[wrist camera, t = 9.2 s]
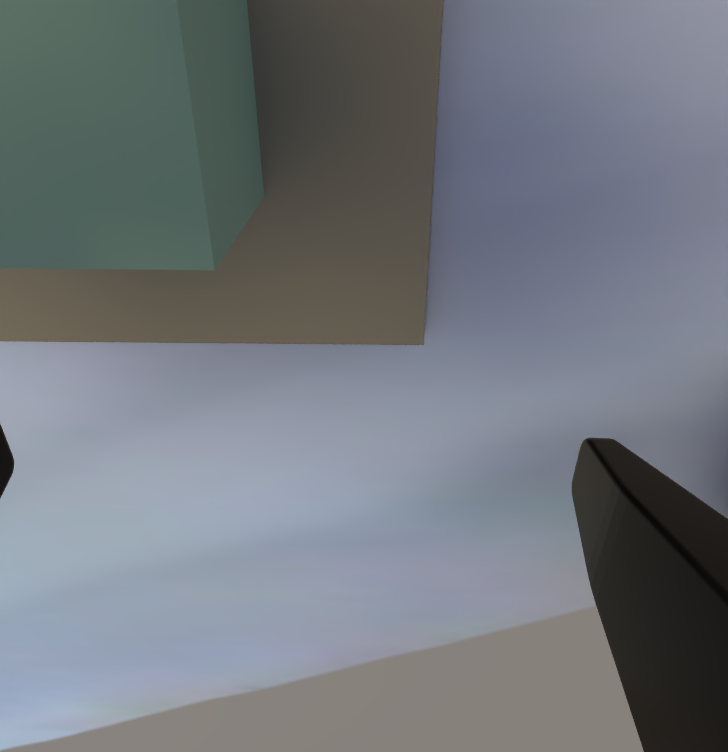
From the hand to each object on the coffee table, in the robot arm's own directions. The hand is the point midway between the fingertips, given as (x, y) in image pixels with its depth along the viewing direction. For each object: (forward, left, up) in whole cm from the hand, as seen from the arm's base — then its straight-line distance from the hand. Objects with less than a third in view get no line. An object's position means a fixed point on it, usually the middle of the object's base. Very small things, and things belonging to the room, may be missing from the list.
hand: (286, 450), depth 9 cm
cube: (+5, -4, -10) cm, 12 cm away
